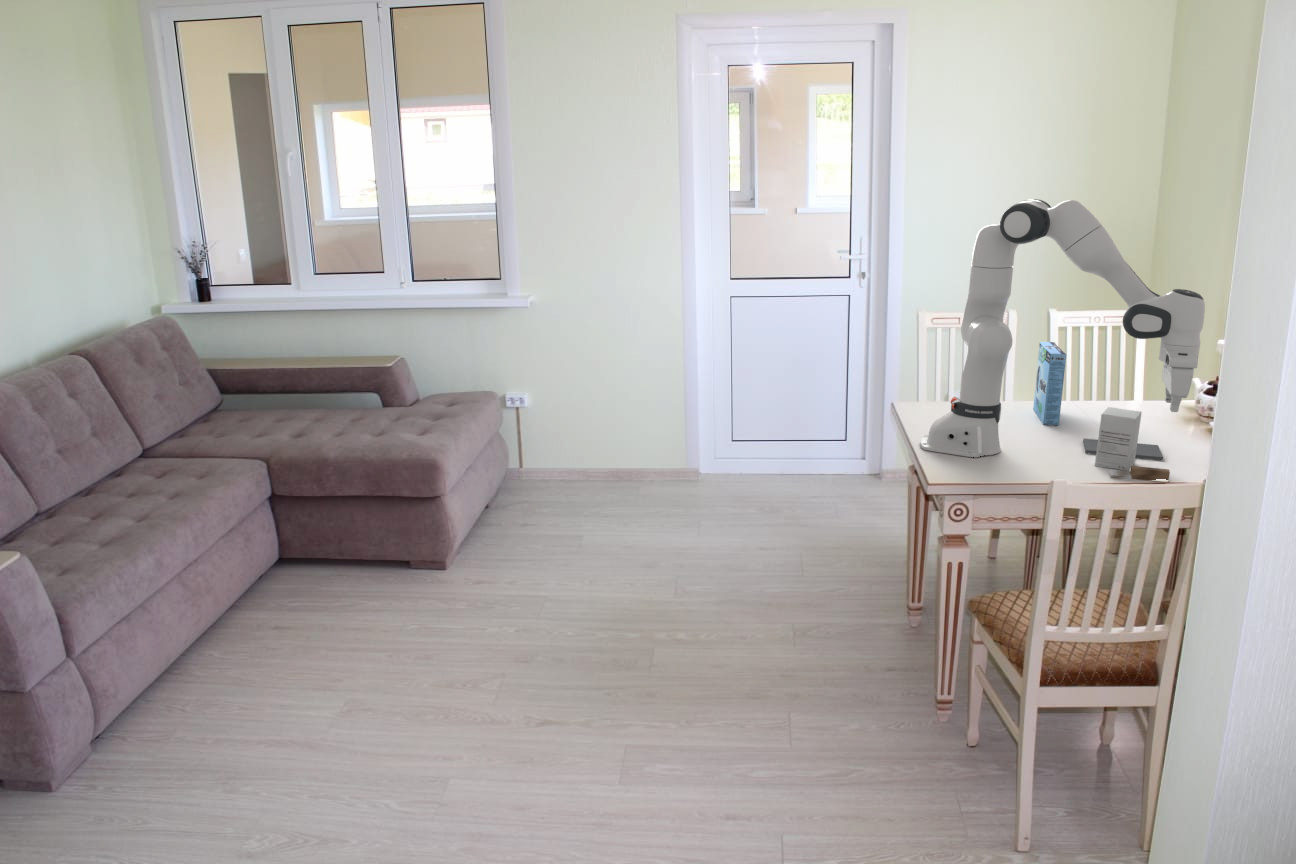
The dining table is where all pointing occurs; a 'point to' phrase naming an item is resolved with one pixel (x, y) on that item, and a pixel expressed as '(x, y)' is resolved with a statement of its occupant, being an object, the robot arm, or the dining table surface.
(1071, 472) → the dining table surface
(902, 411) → the dining table surface
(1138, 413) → the supplement box
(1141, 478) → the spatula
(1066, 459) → the dining table surface
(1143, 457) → the tool mat
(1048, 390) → the gum box
